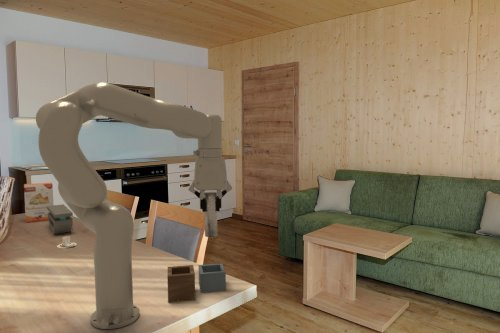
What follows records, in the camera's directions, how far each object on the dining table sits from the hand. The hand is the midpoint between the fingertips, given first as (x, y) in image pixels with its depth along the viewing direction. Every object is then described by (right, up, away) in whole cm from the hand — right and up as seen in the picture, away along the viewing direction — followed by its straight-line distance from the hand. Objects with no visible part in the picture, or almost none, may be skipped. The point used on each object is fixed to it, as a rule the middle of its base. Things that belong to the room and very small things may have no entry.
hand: (210, 210), depth 122 cm
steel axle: (0, -8, +1) cm, 8 cm away
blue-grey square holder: (0, -25, +3) cm, 25 cm away
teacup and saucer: (-69, -22, +43) cm, 84 cm away
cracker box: (-106, -17, +92) cm, 141 cm away
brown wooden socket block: (-9, -26, -4) cm, 28 cm away
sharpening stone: (-84, -19, +71) cm, 111 cm away
